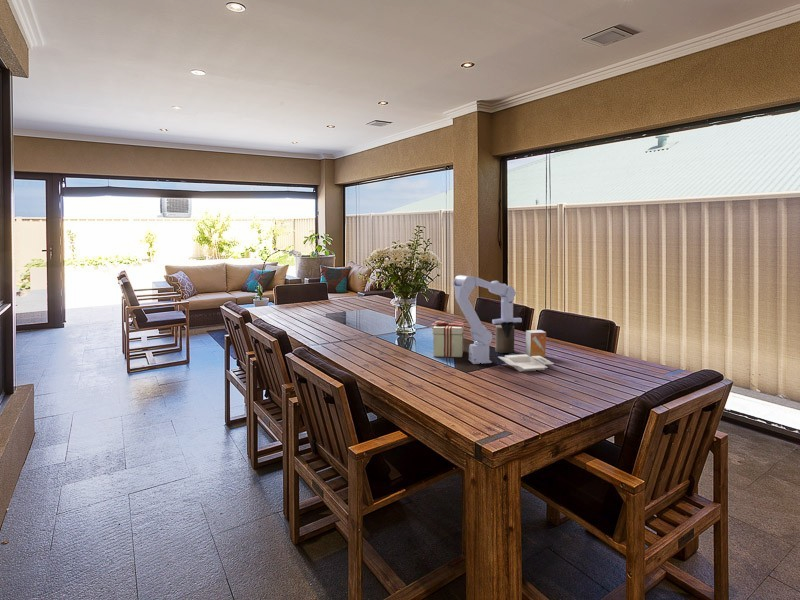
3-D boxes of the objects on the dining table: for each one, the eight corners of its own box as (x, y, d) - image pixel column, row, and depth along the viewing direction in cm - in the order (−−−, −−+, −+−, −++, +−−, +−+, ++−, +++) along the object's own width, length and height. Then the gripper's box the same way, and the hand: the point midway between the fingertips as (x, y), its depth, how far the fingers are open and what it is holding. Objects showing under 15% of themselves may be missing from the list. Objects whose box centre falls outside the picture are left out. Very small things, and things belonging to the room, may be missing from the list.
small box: (530, 358, 232) (530, 332, 231) (525, 355, 239) (525, 330, 237) (545, 357, 233) (546, 332, 232) (540, 354, 240) (540, 329, 238)
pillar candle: (515, 353, 242) (516, 325, 240) (496, 353, 242) (497, 325, 240) (511, 349, 252) (512, 321, 250) (493, 349, 252) (494, 321, 250)
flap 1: (518, 365, 211) (518, 366, 211) (506, 357, 225) (506, 358, 225) (509, 364, 211) (509, 365, 211) (497, 356, 224) (497, 357, 224)
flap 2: (553, 363, 214) (553, 364, 214) (540, 355, 228) (540, 356, 228) (544, 363, 213) (544, 364, 213) (531, 356, 227) (531, 356, 227)
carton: (523, 374, 207) (523, 368, 207) (503, 360, 230) (503, 355, 229) (548, 372, 209) (548, 367, 209) (526, 359, 232) (526, 354, 231)
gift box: (463, 349, 254) (463, 317, 251) (464, 358, 235) (464, 324, 233) (431, 348, 255) (431, 317, 253) (430, 357, 237) (430, 324, 235)
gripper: (495, 312, 226) (495, 339, 228) (524, 310, 228) (524, 338, 230) (490, 309, 233) (490, 336, 235) (518, 308, 235) (518, 334, 237)
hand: (506, 337), depth 233 cm, fingers closed
